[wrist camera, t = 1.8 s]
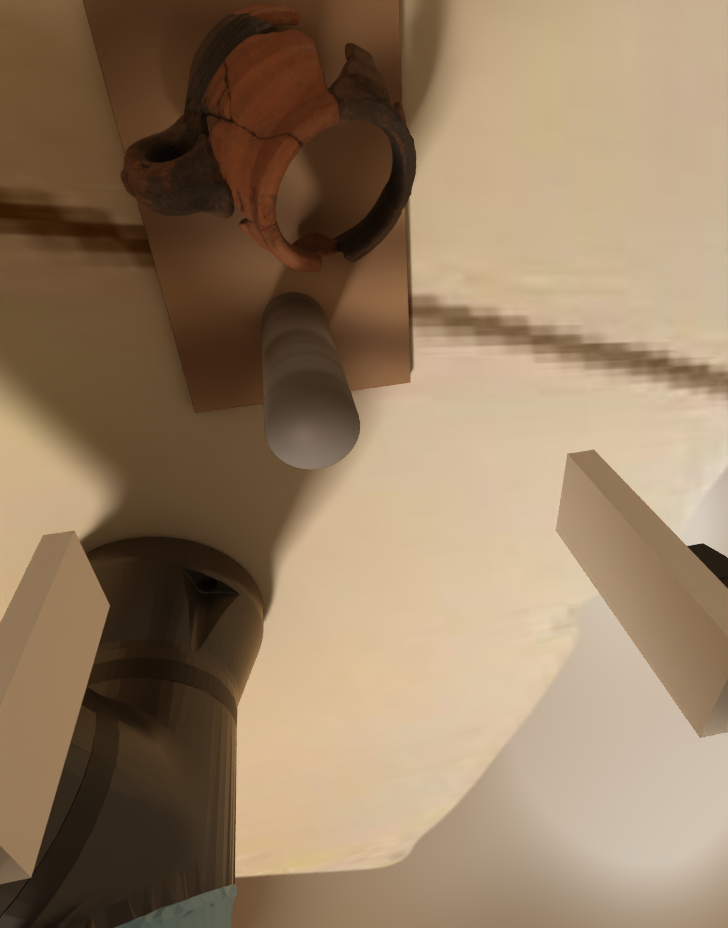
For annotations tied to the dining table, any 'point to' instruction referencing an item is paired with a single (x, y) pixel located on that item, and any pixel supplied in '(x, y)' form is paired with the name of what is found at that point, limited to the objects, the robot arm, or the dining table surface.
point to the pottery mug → (267, 134)
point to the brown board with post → (297, 214)
